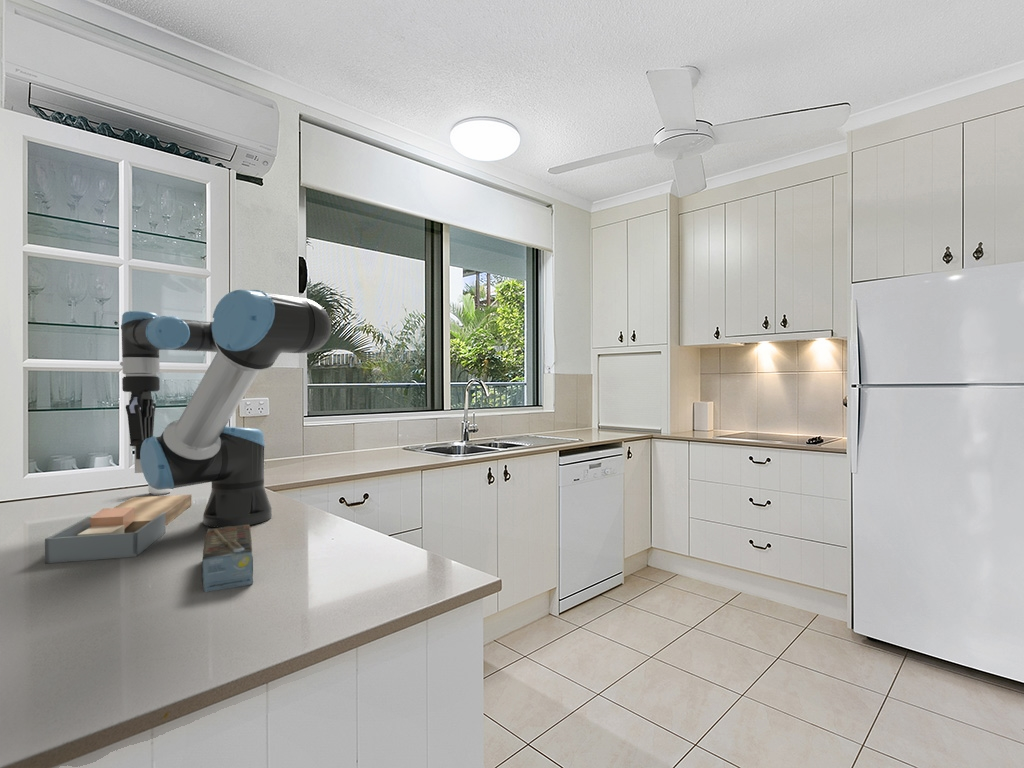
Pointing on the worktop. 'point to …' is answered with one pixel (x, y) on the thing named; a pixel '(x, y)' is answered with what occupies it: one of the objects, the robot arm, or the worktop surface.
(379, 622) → the worktop surface
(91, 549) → the tray
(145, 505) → the oak board
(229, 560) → the beverage carton
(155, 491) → the beverage can
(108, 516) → the terracotta tile
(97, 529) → the sand tile
